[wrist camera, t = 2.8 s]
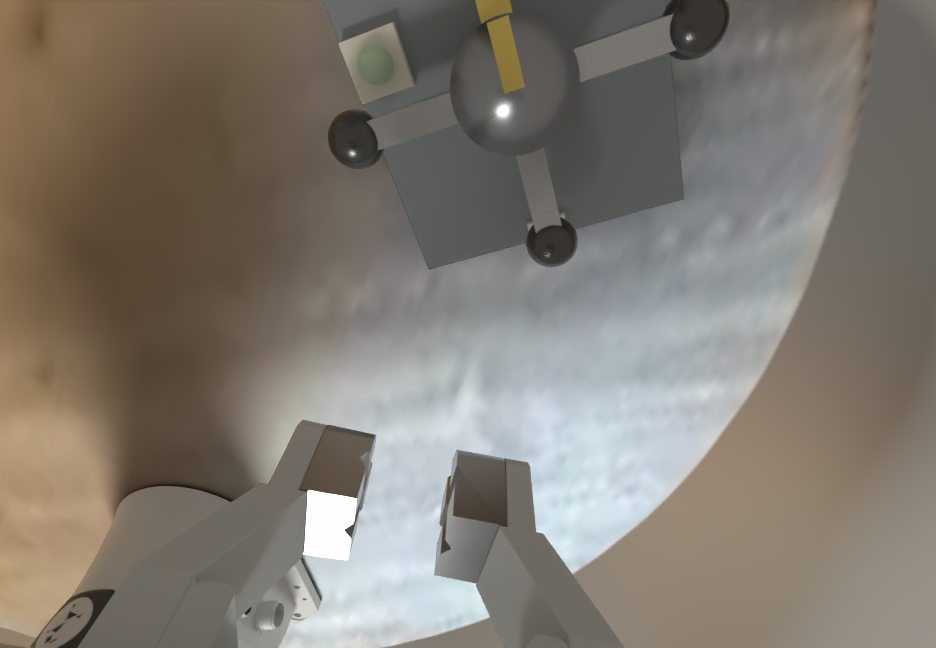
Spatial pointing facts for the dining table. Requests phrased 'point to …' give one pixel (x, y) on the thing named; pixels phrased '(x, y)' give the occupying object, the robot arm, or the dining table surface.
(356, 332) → the dining table surface
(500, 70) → the capstan
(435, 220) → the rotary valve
